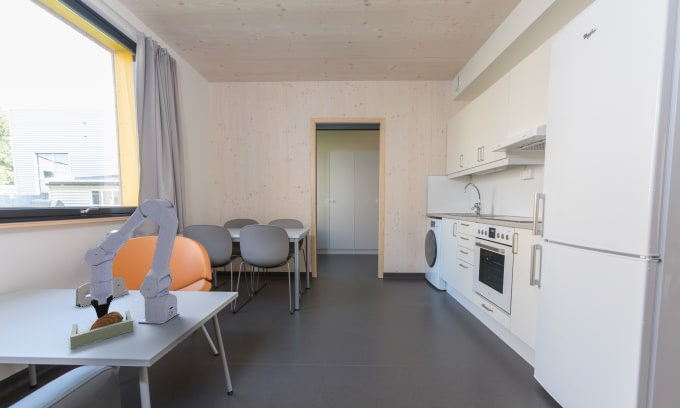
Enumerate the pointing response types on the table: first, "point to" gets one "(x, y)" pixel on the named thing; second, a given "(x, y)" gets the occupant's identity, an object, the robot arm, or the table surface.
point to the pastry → (107, 320)
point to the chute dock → (100, 332)
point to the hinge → (84, 290)
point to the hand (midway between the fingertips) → (102, 318)
